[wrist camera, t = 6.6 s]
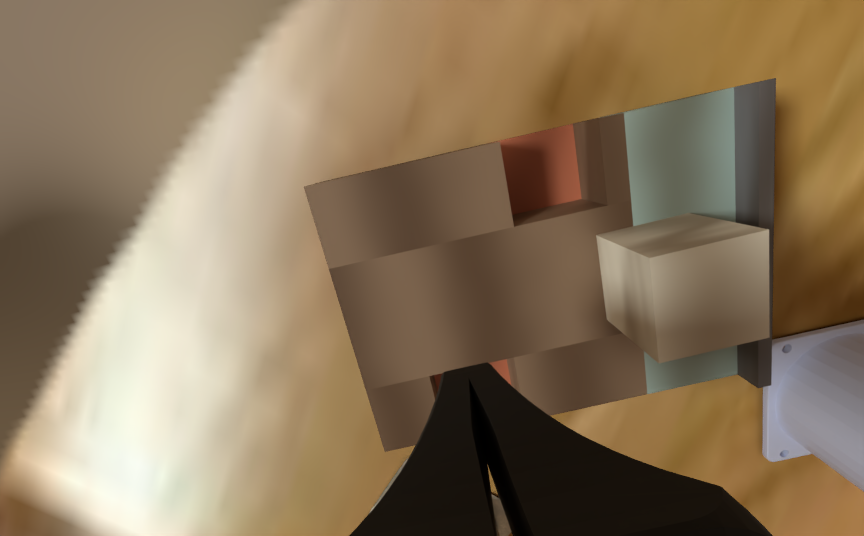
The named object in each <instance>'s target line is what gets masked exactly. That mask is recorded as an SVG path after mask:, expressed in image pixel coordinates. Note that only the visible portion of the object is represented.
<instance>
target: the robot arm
mask: <svg viewBox="0 0 864 536" xmlns="http://www.w3.org/2000/svg"><path fill="white" fill-rule="evenodd" d="M784 346H785V347H784ZM783 347H784V348H783ZM808 454H814V455H815V456H816V457H818V458H819V459H820V460H822V461H823V462H824V463H826V464H827V465H828V466H830V467H831V468H833V469H834V470H835V471H837V472H838V473H839V474H841V475H842V476H843V477H845V478H846V479H847V480H849V481H850V482H851V483H853V484H854V485H855V486H857V487H858V488H859V489H861V490H862V491H863V492H864V320H860V321H855V322H851V323H846V324H841V325H837V326H832V327H828V328H823V329H819V330H814V331H810V332H805V333H801V334H796V335H792V336H787V337H783V338H778V339H774V340H772V377H771V385H770V386H766V387H763V456H764V457H765V458H767V459H768V460H769V461H771V462H776V461H781V460H785V459H790V458H794V457H799V456H804V455H808ZM487 464H488V466H487ZM488 467H489V469H490V472H491V475H492V478H493V481H494V484H495V487H496V489H497V492H498V495H499V498H500V501H501V504H502V506H503V509H504V512H505V515H506V518H507V521H508V523H509V526H510V529H511V532H512V535H513V536H772V534H771V533H770V532H769V531H768V530H767V529H766V528H765V527H764V526H763V525H762V524H761V523H760V522H759V521H758V520H757V519H756V518H755V517H754V516H753V515H752V514H751V513H750V512H749V511H748V510H747V509H746V508H744V507H743V506H742V505H741V504H740V503H739V502H738V501H736V500H735V499H734V498H733V497H732V496H731V495H730V494H728V493H727V492H726V491H725V490H724V489H723V488H722V487H721V486H717V485H714V484H710V483H707V482H704V481H700V480H697V479H693V478H690V477H686V476H683V475H679V474H676V473H673V472H669V471H666V470H663V469H660V468H657V467H654V466H652V465H649V464H646V463H643V462H641V461H638V460H635V459H633V458H630V457H628V456H625V455H623V454H620V453H618V452H615V451H613V450H611V449H609V448H607V447H605V446H602V445H600V444H598V443H596V442H594V441H592V440H590V439H588V438H586V437H584V436H582V435H580V434H578V433H576V432H575V431H573V430H571V429H569V428H568V427H566V426H564V425H563V424H561V423H560V422H558V421H557V420H555V419H554V418H552V417H551V416H549V415H548V414H546V413H545V412H544V411H542V410H541V409H539V408H538V407H537V406H535V405H534V404H533V403H532V402H530V401H529V400H528V399H527V398H525V397H524V396H523V395H522V394H521V393H519V392H518V391H517V390H516V389H515V388H514V387H512V386H511V385H510V384H509V383H508V382H507V381H506V380H505V379H504V378H503V377H502V376H501V375H500V374H499V373H498V372H497V371H496V370H495V369H494V367H493V366H492V365H491V364H489V363H488V362H486V363H481V364H477V365H472V366H468V367H463V368H458V369H454V370H449V371H445V372H444V373H443V374H442V375H441V380H440V385H439V389H438V392H437V396H436V399H435V402H434V405H433V407H432V410H431V413H430V415H429V418H428V420H427V423H426V425H425V427H424V429H423V431H422V433H421V436H420V438H419V440H418V442H417V444H416V446H415V448H414V450H413V451H412V453H411V455H410V457H409V459H408V460H407V462H406V463H405V465H404V467H403V468H402V470H401V472H400V473H399V475H398V476H397V478H396V479H395V480H394V482H393V483H392V485H391V486H390V488H389V489H388V491H387V492H386V493H385V495H384V496H383V497H382V499H381V500H380V501H379V503H378V504H377V505H376V506H375V508H374V509H373V510H372V511H371V512H370V513H369V515H368V516H367V517H366V518H365V519H364V520H363V521H362V523H361V524H360V525H359V526H358V527H357V528H356V529H355V530H354V531H353V532H352V533H351V534H350V535H349V536H497V531H496V524H495V516H494V509H493V502H492V495H491V487H490V480H489V473H488Z"/></svg>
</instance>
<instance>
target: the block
mask: <svg viewBox="0 0 864 536" xmlns="http://www.w3.org/2000/svg"><path fill="white" fill-rule="evenodd" d="M596 238H597V246H598V253H599V261H600V269H601V277H602V285H603V293H604V301H605V309H606V317H607V320H608V321H609V322H610V323H611V324H613V325H614V326H615V327H616V328H617V329H618V330H620V331H621V332H622V333H623V334H624V335H626V336H627V337H628V338H629V339H630V340H632V341H633V342H634V343H635V344H636V345H637V346H639V347H640V348H641V349H642V350H643V351H645V352H646V353H647V354H648V355H649V356H650V357H652V358H653V359H654V360H655V361H656V362H658V363H663V362H667V361H672V360H676V359H680V358H685V357H689V356H693V355H697V354H702V353H706V352H710V351H714V350H719V349H723V348H727V347H732V346H736V345H740V344H744V343H749V342H753V341H757V340H761V339H766V338H770V337H769V229H764V228H759V227H755V226H750V225H745V224H740V223H735V222H730V221H725V220H721V219H716V218H711V217H706V216H701V215H696V214H691V213H686V214H682V215H678V216H674V217H670V218H666V219H661V220H657V221H653V222H649V223H645V224H641V225H636V226H632V227H628V228H624V229H620V230H616V231H612V232H607V233H603V234H599V235H596Z"/></svg>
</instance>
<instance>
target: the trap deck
mask: <svg viewBox="0 0 864 536" xmlns="http://www.w3.org/2000/svg"><path fill="white" fill-rule="evenodd" d="M775 96H776V78H774V79H769V80H765V81H760V82H755V83H751V84H746V85H742V86H737V87H732V88H728V89H723V90H718V91H714V92H709V93H704V94H700V95H695V96H691V97H687V98H682V99H678V100H674V101H669V102H665V103H661V104H656V105H652V106H648V107H643V108H639V109H635V110H630V111H626V112H622V113H617V114H613V115H609V116H605V117H600V118H596V119H592V120H587V121H583V122H579V123H574V124H570V125H566V126H561V127H557V128H553V129H548V130H544V131H540V132H535V133H531V134H527V135H522V136H518V137H514V138H509V139H505V140H501V141H496V142H492V143H488V144H483V145H479V146H475V147H471V148H466V149H462V150H458V151H453V152H449V153H445V154H440V155H436V156H432V157H427V158H423V159H419V160H414V161H410V162H406V163H401V164H397V165H393V166H388V167H384V168H380V169H375V170H371V171H367V172H362V173H358V174H354V175H349V176H345V177H341V178H336V179H332V180H328V181H324V182H319V183H316V184H312V185H309V186H305V187H304V189H305V192H306V196H307V199H308V202H309V205H310V209H311V212H312V215H313V218H314V222H315V225H316V228H317V231H318V235H319V238H320V241H321V245H322V248H323V251H324V254H325V258H326V261H327V264H328V267H329V271H330V274H331V277H332V281H333V284H334V287H335V290H336V294H337V297H338V300H339V303H340V307H341V310H342V313H343V316H344V320H345V323H346V326H347V330H348V333H349V336H350V339H351V343H352V346H353V349H354V352H355V356H356V359H357V362H358V366H359V369H360V372H361V375H362V379H363V382H364V385H365V388H366V392H367V395H368V398H369V401H370V405H371V408H372V411H373V415H374V418H375V421H376V424H377V428H378V431H379V434H380V437H381V441H382V444H383V447H384V450H385V452H386V451H391V450H395V449H400V448H404V447H409V446H413V445H416V444H417V442H418V440H419V438H420V436H421V433H422V431H423V429H424V427H425V425H426V423H427V420H428V418H429V415H430V413H431V410H432V407H433V405H434V402H435V399H436V396H437V392H438V389H439V385H440V380H441V375H442V374H443V373H444V372H445V371H449V370H454V369H458V368H463V367H468V366H472V365H477V364H481V363H486V362H488V363H489V364H491V365H492V366H493V367H494V369H495V370H496V371H497V372H498V373H499V374H500V375H501V376H502V377H503V378H504V379H505V380H506V381H507V382H508V383H509V384H510V385H511V386H512V387H514V388H515V389H516V390H517V391H518V392H519V393H521V394H522V395H523V396H524V397H525V398H527V399H528V400H529V401H530V402H532V403H533V404H534V405H535V406H537V407H538V408H539V409H541V410H542V411H544V412H545V413H546V414H548V415H549V416H550V415H554V414H559V413H564V412H568V411H573V410H577V409H582V408H586V407H591V406H595V405H600V404H605V403H609V402H614V401H618V400H623V399H627V398H632V397H636V396H641V395H646V394H650V393H655V392H659V391H664V390H668V389H673V388H677V387H682V386H686V385H691V384H696V383H700V382H705V381H709V380H714V379H718V378H723V377H727V376H732V375H737V374H738V375H739V376H741V377H742V378H744V379H745V380H747V381H748V382H750V383H751V384H753V385H754V386H756V387H757V388H761V387H766V386H770V385H771V377H772V307H773V236H774V166H775ZM686 213H691V214H696V215H701V216H706V217H711V218H716V219H721V220H725V221H730V222H735V223H740V224H745V225H750V226H755V227H759V228H764V229H769V337H770V338H766V339H761V340H757V341H753V342H749V343H744V344H740V345H736V346H732V347H727V348H723V349H719V350H714V351H710V352H706V353H702V354H697V355H693V356H689V357H685V358H680V359H676V360H672V361H667V362H663V363H658V362H656V361H655V360H654V359H653V358H652V357H650V356H649V355H648V354H647V353H646V352H645V351H643V350H642V349H641V348H640V347H639V346H637V345H636V344H635V343H634V342H633V341H632V340H630V339H629V338H628V337H627V336H626V335H624V334H623V333H622V332H621V331H620V330H618V329H617V328H616V327H615V326H614V325H613V324H611V323H610V322H609V321H608V320H607V317H606V309H605V301H604V293H603V285H602V277H601V269H600V261H599V253H598V246H597V238H596V235H599V234H603V233H607V232H612V231H616V230H620V229H624V228H628V227H632V226H636V225H641V224H645V223H649V222H653V221H657V220H661V219H666V218H670V217H674V216H678V215H682V214H686Z"/></svg>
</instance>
